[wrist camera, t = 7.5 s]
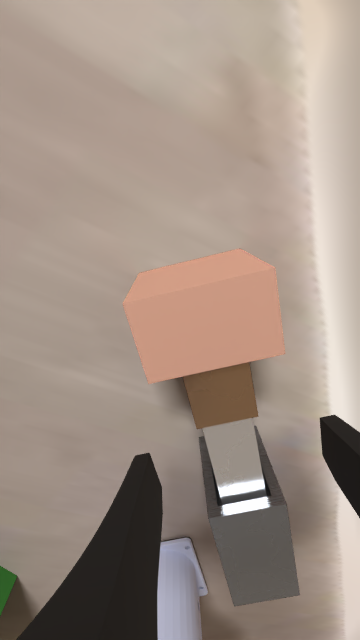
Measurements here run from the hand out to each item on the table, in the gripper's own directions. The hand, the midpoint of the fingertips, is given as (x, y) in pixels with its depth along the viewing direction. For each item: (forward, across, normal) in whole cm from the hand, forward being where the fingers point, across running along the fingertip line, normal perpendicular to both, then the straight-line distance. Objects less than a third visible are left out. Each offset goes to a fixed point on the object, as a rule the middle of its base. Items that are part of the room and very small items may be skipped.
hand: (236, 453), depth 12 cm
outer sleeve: (+10, 0, +14) cm, 17 cm away
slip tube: (+8, 0, +4) cm, 8 cm away
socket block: (+10, 0, -4) cm, 11 cm away
